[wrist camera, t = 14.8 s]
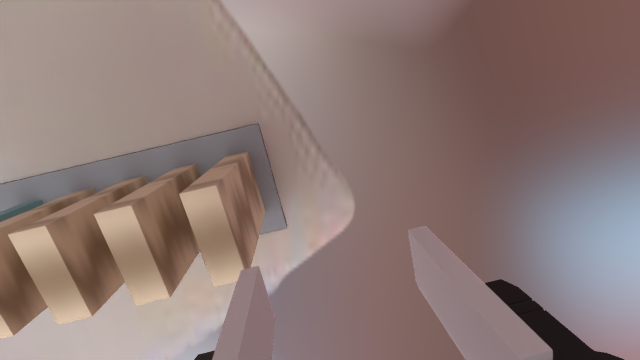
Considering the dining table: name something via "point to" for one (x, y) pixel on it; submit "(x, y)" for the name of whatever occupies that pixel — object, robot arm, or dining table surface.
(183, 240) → the tile
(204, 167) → the mat
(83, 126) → the dining table surface
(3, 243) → the tile
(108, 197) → the tile
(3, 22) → the dining table surface
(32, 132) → the dining table surface
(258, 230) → the tile
